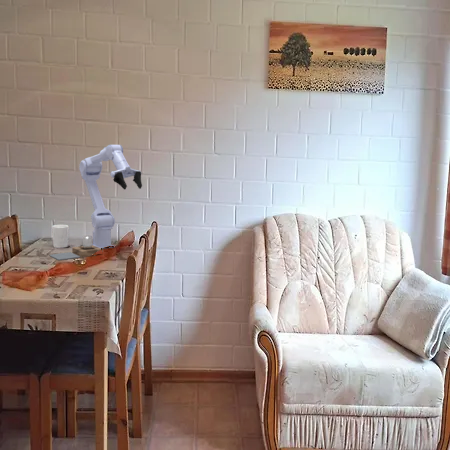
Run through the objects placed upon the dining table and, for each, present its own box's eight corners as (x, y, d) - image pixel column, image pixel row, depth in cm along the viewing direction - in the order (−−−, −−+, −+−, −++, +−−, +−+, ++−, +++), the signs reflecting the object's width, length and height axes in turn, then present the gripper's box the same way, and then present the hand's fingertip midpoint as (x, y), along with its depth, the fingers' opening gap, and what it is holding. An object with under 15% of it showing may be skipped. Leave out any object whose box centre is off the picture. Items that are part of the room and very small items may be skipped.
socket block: (72, 252, 248) (72, 247, 247) (92, 250, 254) (92, 244, 254) (82, 257, 240) (82, 251, 240) (102, 254, 247) (102, 249, 246)
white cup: (51, 245, 261) (50, 224, 259) (67, 244, 265) (67, 224, 263) (53, 248, 254) (52, 227, 252) (70, 247, 258) (70, 227, 256)
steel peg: (81, 253, 247) (81, 236, 246) (89, 252, 250) (89, 235, 248) (85, 255, 244) (85, 237, 243) (93, 253, 247) (93, 236, 245)
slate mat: (49, 255, 240) (49, 254, 240) (70, 252, 247) (70, 252, 247) (58, 260, 233) (58, 259, 233) (80, 257, 240) (80, 256, 239)
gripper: (109, 159, 235) (121, 182, 229) (138, 158, 244) (150, 180, 238) (104, 170, 239) (116, 193, 233) (133, 169, 248) (144, 191, 242)
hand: (133, 187), depth 236 cm, fingers open, 7 cm apart
